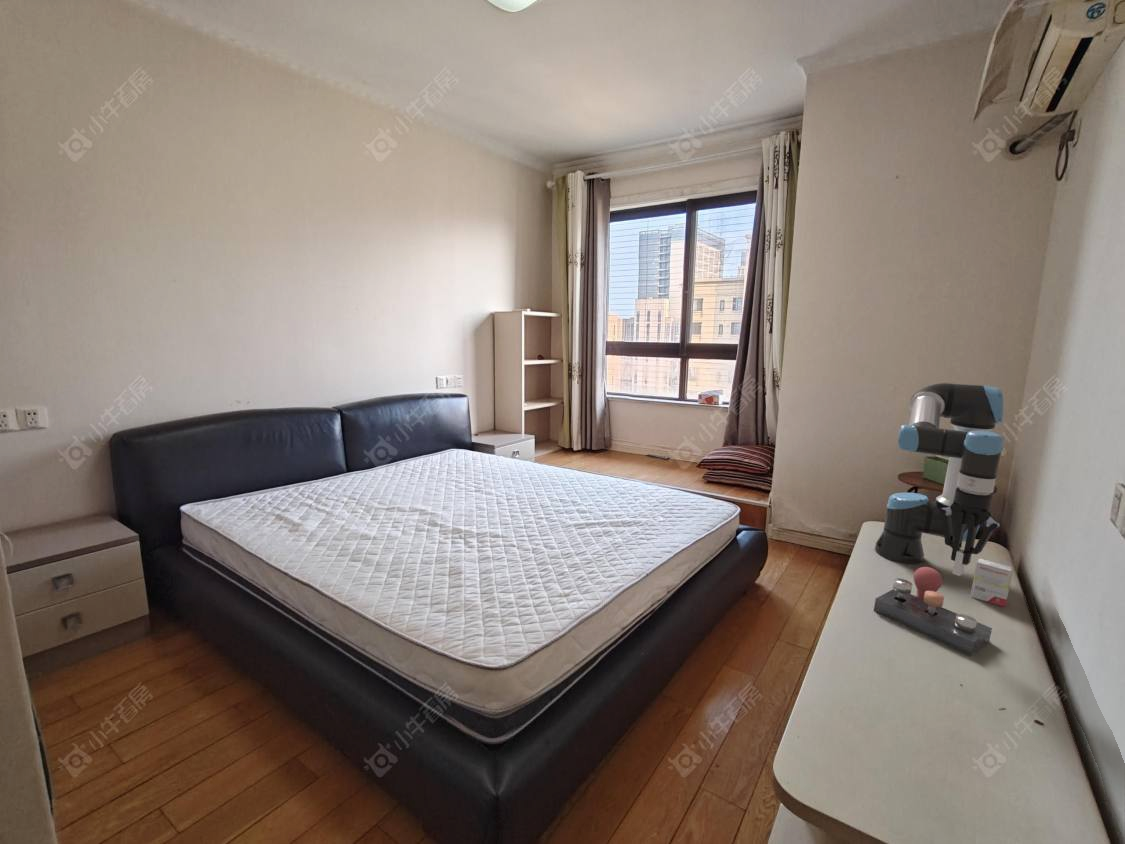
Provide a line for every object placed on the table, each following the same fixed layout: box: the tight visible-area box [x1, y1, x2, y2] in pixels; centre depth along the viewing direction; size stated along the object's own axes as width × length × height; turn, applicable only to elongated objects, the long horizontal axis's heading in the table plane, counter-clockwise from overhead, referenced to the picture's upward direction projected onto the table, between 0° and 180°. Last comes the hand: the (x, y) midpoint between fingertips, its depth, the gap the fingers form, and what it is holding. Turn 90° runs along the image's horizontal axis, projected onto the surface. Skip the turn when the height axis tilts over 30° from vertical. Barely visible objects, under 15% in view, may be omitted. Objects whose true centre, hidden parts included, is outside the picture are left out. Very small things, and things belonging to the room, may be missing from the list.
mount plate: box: [873, 588, 993, 657], centre depth 143 cm, size 12×24×4 cm, turn 32°
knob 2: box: [923, 591, 945, 616], centre depth 142 cm, size 4×4×6 cm
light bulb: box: [912, 566, 943, 600], centre depth 153 cm, size 7×7×12 cm
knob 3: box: [955, 613, 978, 632], centre depth 136 cm, size 4×4×6 cm
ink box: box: [970, 558, 1014, 608], centre depth 157 cm, size 9×5×12 cm, turn 46°
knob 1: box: [892, 578, 913, 602], centre depth 149 cm, size 4×4×6 cm
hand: (957, 573), depth 137 cm, fingers closed
